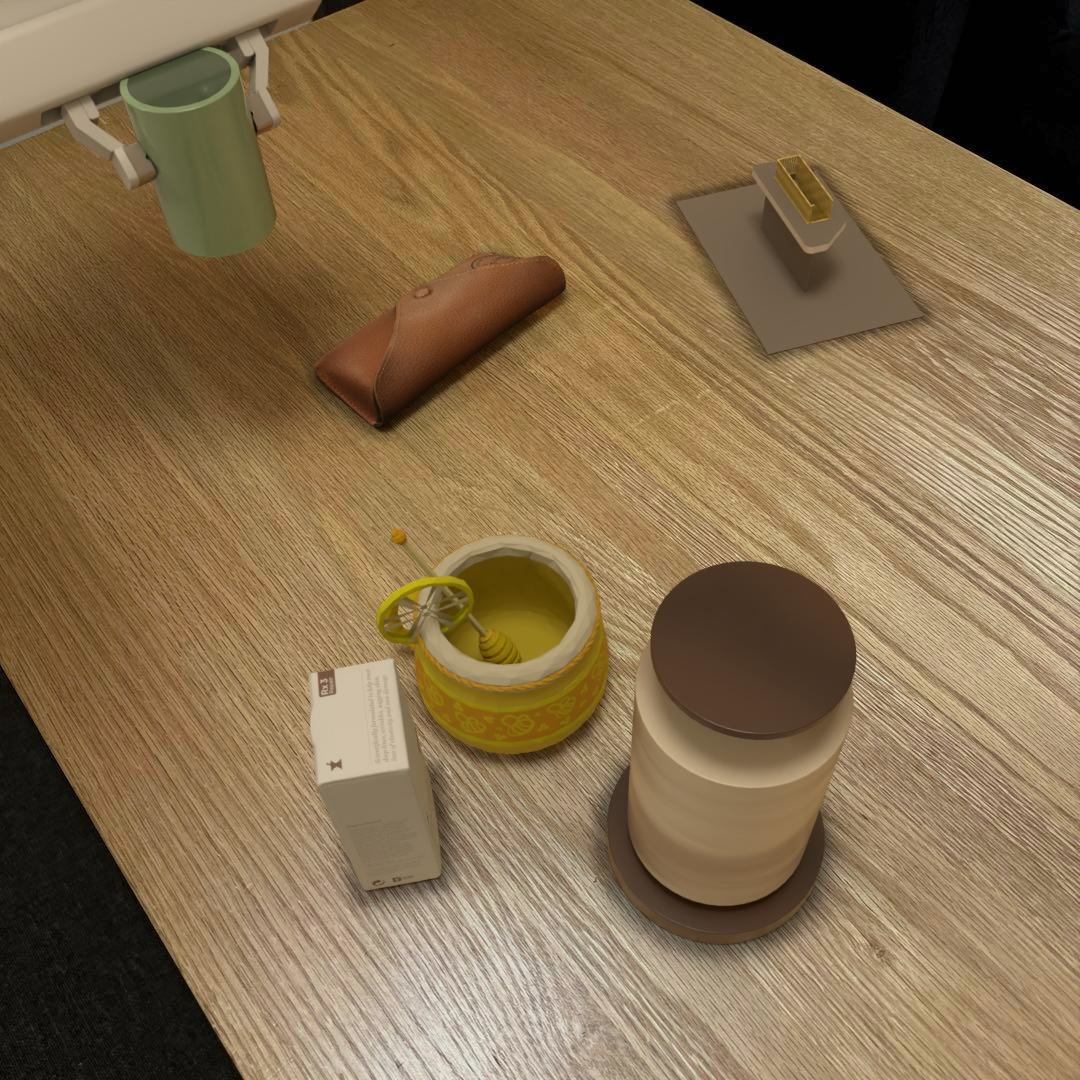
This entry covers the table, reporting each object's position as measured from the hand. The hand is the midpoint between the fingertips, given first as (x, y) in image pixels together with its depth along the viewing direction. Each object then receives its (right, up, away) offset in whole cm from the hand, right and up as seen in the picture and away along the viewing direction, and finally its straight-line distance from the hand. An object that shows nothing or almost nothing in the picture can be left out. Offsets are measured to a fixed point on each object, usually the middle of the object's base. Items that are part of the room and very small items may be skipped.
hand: (207, 155), depth 63 cm
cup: (0, -3, +4) cm, 5 cm away
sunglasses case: (+10, -6, +22) cm, 25 cm away
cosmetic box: (+10, -36, 0) cm, 37 cm away
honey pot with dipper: (+15, -28, +5) cm, 32 cm away
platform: (+37, +1, +26) cm, 45 cm away
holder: (+26, -36, -1) cm, 45 cm away
